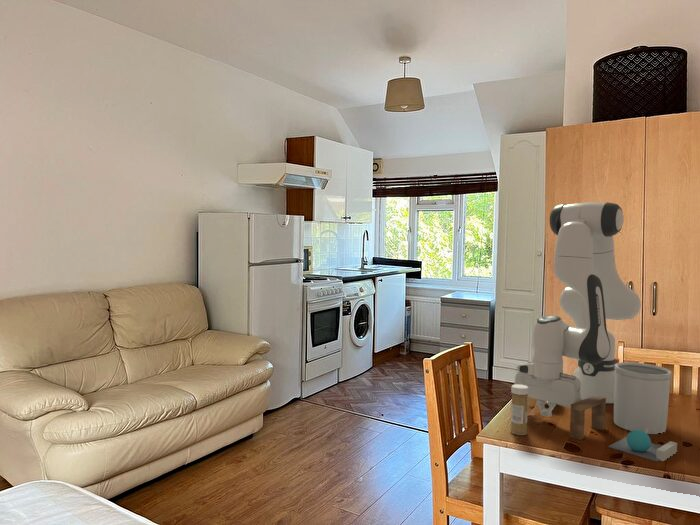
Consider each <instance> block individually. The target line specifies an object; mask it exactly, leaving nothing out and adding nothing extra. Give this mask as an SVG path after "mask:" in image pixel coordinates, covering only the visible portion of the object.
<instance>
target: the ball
mask: <svg viewBox="0 0 700 525" xmlns="http://www.w3.org/2000/svg"><path fill="white" fill-rule="evenodd" d="M626 437H627V443H628V445H629V447H630V448H631V449H633V450H634V451H637V452H644V451H646V450H648V449H649V447H650V445H651V443H652V440H651V437H650V435H649V434H647V433H645V432H644V431H641V430H633V431H630V432H628V434H627V435H626Z"/></svg>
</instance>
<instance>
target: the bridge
mask: <svg viewBox="0 0 700 525" xmlns="http://www.w3.org/2000/svg"><path fill="white" fill-rule="evenodd" d="M606 406H607V403H606V397H601V396H597V395H595V396H592V397H589V398H586V399H584V400H581V401H578V402H576V403H573V404H571V408H570V416H569V417H570V419H569V420H570V421H569V424H570V425H569V428H570V429H569V437H570V438H572V439H575V440H579V441H582V440H584V439H585V416H586V414H585V412H586V410H588V409H590V408H591V423H590V424H591V426H590V427H591V428H592V429H596V430H600V431H603V430H605V429H606V410H607V409H606Z"/></svg>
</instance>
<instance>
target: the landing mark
mask: <svg viewBox="0 0 700 525" xmlns="http://www.w3.org/2000/svg"><path fill="white" fill-rule="evenodd" d="M662 446H663V445H661V444H658V443H655V442H654V443H653V442H651V445H650V447H649V449H648V450H646V451H644V452H637V451H634V450H633V449H631V448H630V447H629V445H628V443H627V436H626V437H624V438H621V439H619V440H617V441H616V442H614V443H612V444H610V445H608V448H611V449H614V450H617V451H619V452H620V451H621V452H624V453H627V454H630V455H634V456H636V457H640V458H643V459H647V460H649V461H652V462H656V463H658V462H660V460H659V459H656V453H657V449H658V448H660V447H662Z"/></svg>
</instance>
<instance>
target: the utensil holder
mask: <svg viewBox="0 0 700 525" xmlns="http://www.w3.org/2000/svg"><path fill="white" fill-rule="evenodd" d="M672 374H673V373H672V371H671V369H668V368H666V367H663V366H661V365H655V364H650V363H643V362H632V361H629V362H628V361H627V362H626V361H624V362H619V363H617V364H615V389H614V403H613V422H614V425H616V426H618V427H619V428H621V429H624V430H627V431H630V432H631V431H633V430H641V431H644V432H645V433H647V434H648V435H659V434H658V433H661V434H664V433H666V431H667V426H668V425H667V424H668V423H667V422H668V415H669V413H668V412H669V400H670V388H671V387H670V386H671V378H672ZM663 432H664V433H663Z"/></svg>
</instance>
